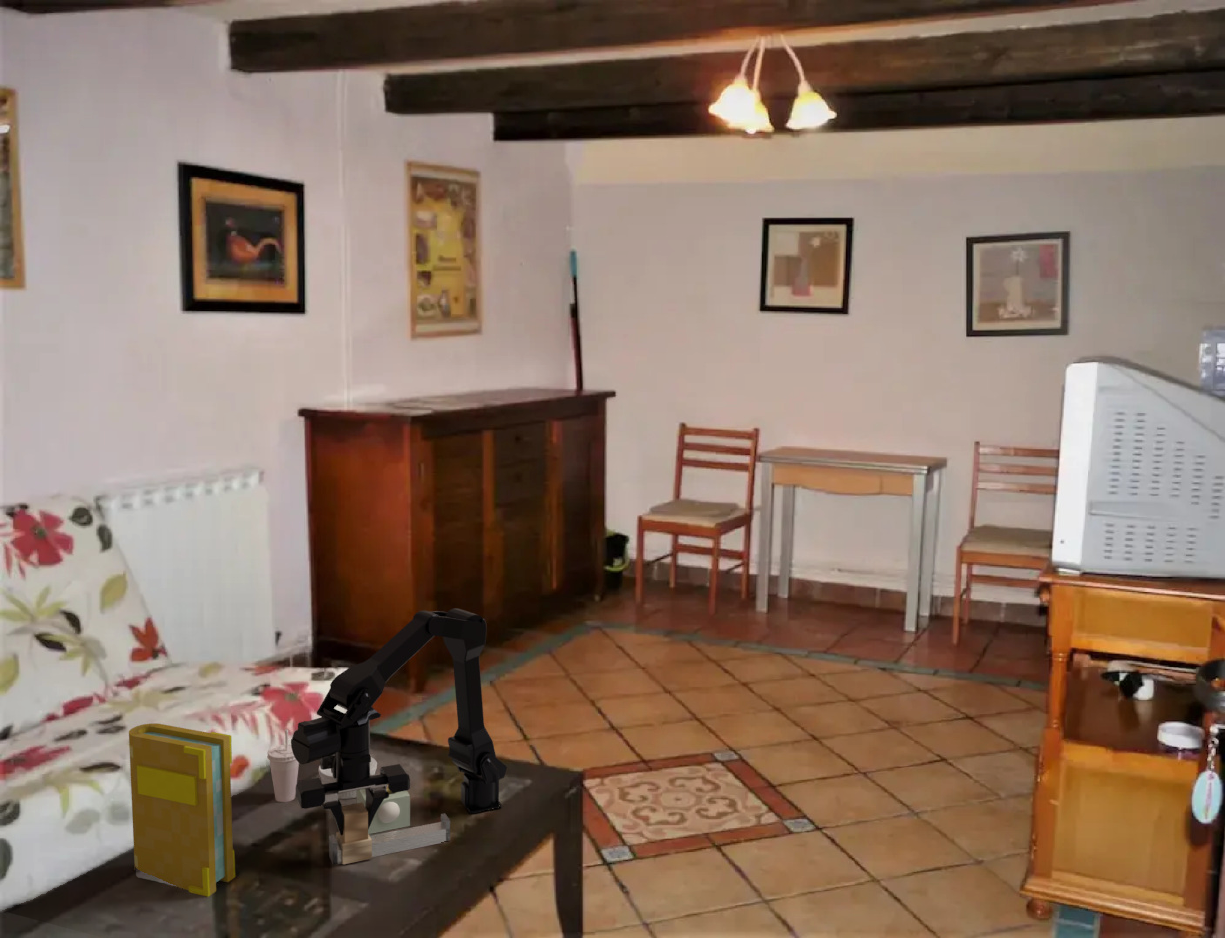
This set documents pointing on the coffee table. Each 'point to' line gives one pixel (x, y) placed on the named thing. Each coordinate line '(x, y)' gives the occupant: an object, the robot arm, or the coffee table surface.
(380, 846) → the rail
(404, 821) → the cabinet
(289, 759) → the smoothie
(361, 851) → the carriage
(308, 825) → the coffee table surface
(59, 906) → the coffee table surface
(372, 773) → the ramekin
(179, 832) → the book
